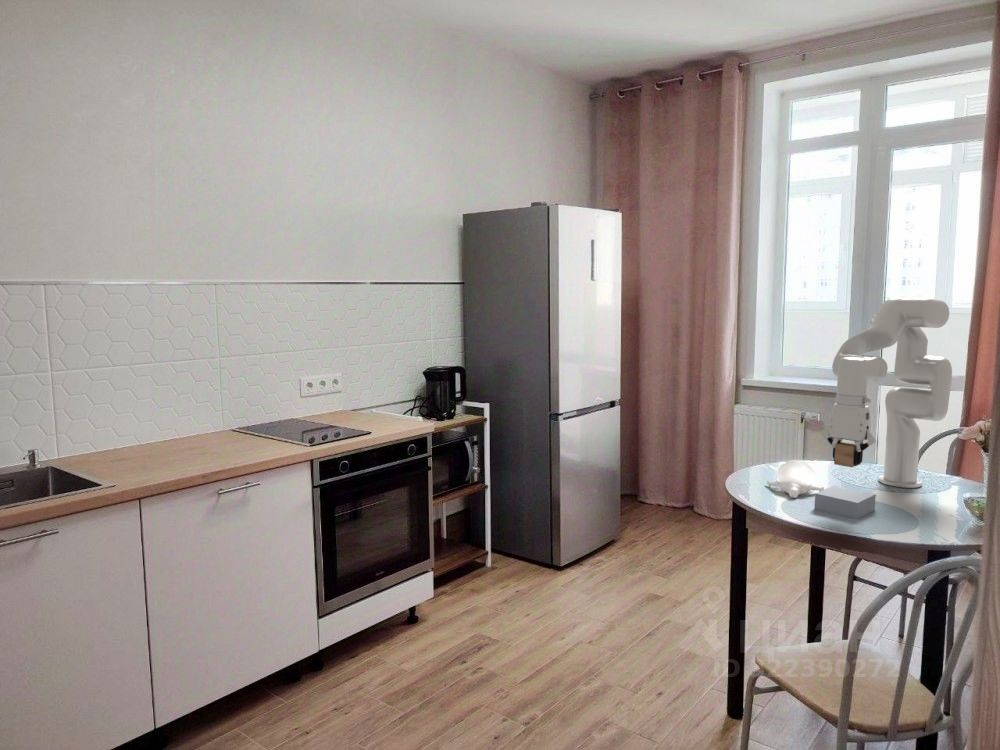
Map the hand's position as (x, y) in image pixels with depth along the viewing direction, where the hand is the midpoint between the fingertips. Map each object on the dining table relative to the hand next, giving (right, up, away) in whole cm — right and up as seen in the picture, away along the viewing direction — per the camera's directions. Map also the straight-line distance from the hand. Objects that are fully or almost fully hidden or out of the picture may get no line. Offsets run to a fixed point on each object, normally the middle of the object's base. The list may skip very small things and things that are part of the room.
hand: (847, 462), depth 201 cm
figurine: (-5, -12, +23) cm, 27 cm away
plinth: (0, -14, +2) cm, 15 cm away
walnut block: (0, -1, 0) cm, 1 cm away
